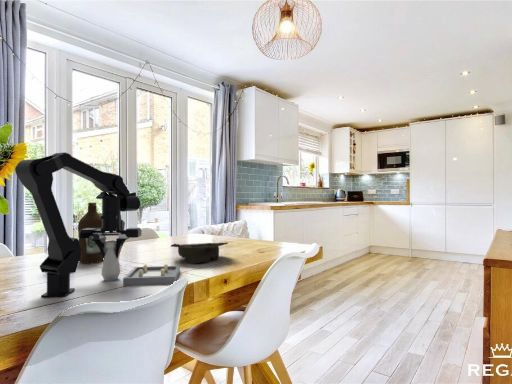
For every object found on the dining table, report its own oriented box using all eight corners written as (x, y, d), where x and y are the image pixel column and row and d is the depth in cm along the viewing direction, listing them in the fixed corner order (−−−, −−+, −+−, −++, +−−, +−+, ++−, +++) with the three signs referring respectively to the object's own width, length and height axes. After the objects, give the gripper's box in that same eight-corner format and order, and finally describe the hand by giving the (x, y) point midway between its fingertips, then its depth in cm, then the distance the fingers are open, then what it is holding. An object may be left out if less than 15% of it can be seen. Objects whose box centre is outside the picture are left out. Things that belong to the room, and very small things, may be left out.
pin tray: (174, 283, 105) (174, 272, 105) (123, 285, 103) (123, 273, 103) (179, 271, 121) (179, 261, 121) (135, 272, 119) (135, 262, 119)
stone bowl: (198, 268, 126) (197, 244, 126) (158, 264, 141) (157, 243, 141) (239, 257, 146) (238, 236, 146) (201, 255, 161) (199, 236, 161)
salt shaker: (99, 279, 110) (99, 240, 110) (116, 276, 114) (116, 239, 114) (105, 282, 106) (105, 242, 106) (123, 279, 110) (123, 240, 110)
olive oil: (74, 261, 139) (74, 202, 139) (100, 257, 146) (100, 202, 147) (82, 265, 131) (82, 203, 132) (109, 261, 139) (109, 202, 139)
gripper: (144, 210, 120) (144, 253, 120) (91, 211, 117) (90, 254, 117) (137, 212, 109) (137, 259, 108) (78, 213, 106) (78, 261, 106)
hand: (111, 258), depth 110 cm, fingers closed on salt shaker, 4 cm apart
